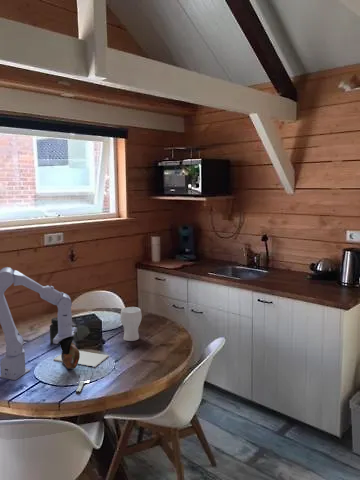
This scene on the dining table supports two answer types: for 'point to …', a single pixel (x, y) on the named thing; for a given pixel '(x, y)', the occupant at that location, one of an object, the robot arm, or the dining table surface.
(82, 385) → the y-shaped peeler
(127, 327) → the cup
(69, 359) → the tin
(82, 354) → the board
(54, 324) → the supplement bottle
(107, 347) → the dining table surface
